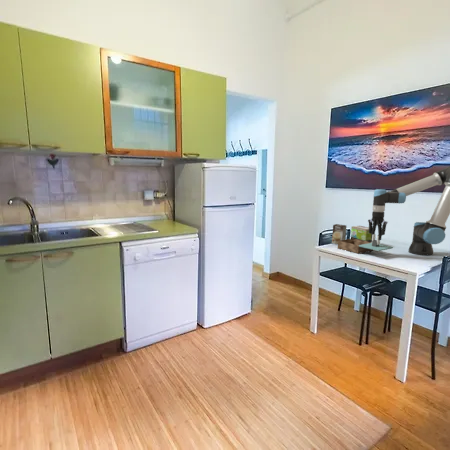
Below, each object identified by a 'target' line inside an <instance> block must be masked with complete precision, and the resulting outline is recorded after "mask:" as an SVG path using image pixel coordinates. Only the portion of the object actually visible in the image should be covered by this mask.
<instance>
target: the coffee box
mask: <svg viewBox="0 0 450 450" xmlns="http://www.w3.org/2000/svg"><path fill="white" fill-rule="evenodd" d="M331 234H332V238H331V244H335V245H338V241H340V240H346V238H347V236H346V235H347V224H346V225H345V224H338V223H336V224H332V233H331Z"/></svg>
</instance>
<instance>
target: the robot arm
mask: <svg viewBox="0 0 450 450" xmlns="http://www.w3.org/2000/svg"><path fill="white" fill-rule="evenodd" d="M443 185H445V187H444V189H443V191H442V193H441V195H440V197H439V200H438V201H437V204H436V206H435V209H434V211H433V213H432V214H431V217H430V219H428V220H426V222H425V221H424V222H423V221H422V222H419V221H416V222H414V224H413V232H412V242H411V243H410V246H409V248H408V253H410V254H413V255H418V256H419V255H420V256H427V257H428V256H433V255H434V248H433V245H438V244H441V243H442V242H443V241H444V240H445V239H446V232H445V231H446V229H447V226H446V223H447V220H448V218H449V217H450V166H447V167H445V168H443V169H441V170H438V171H435V172H433V174H431V175H429V176H426V177H424V178H421V179H419V180H416V181H414V182H411V183H409V184H408V183H407V184H406V185H403V186H401V187H397V188H396V189H393V190H391V191H389V190H386V189H384V188H383V189H380V188H379V189H375V190H374V192H373V201H372V203H373V204H372V212H371V213H372V216H371V218H370V219H368V220H367V222H368V227H369V233H371V239H372V241H373V240H377V245H378V244H381V240H382V236H384V235H385V234H386V229H387V224H388V223H389V221H387V220H385V211H386V209H385V208H386V204H405V202H406V200H407V197H408V196H411V195H413V194H417V193H419V192H422V191H424V190H427V189H430V188H432V187H435V186H443ZM376 229H377V234H376Z"/></svg>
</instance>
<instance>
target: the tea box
mask: <svg viewBox="0 0 450 450" xmlns="http://www.w3.org/2000/svg"><path fill="white" fill-rule="evenodd" d="M350 231H351V232H350V239H358V240H363V241H367V242H372V239H371V233H369V226H364V225H353V226H351V229H350Z"/></svg>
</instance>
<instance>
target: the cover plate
mask: <svg viewBox="0 0 450 450" xmlns="http://www.w3.org/2000/svg"><path fill="white" fill-rule="evenodd" d="M359 247H364V248H368V249H372V250H373V251H377V252H381V251H385V250H390V249H394V246H389V245H386V244H381V243H380V244H378V245H377V239H375V240H373V241H372V243H368V244H362V245H359Z"/></svg>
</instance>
